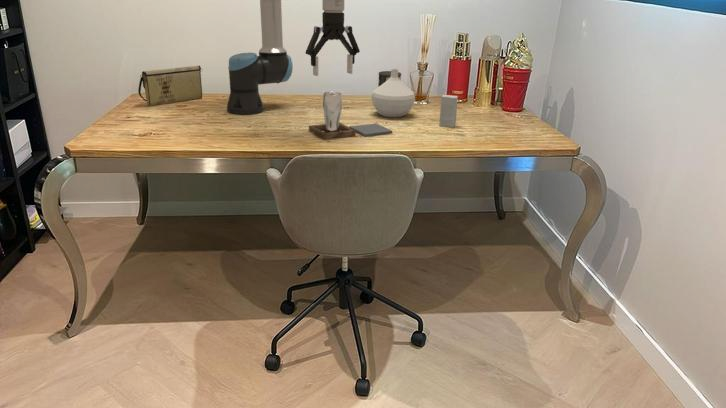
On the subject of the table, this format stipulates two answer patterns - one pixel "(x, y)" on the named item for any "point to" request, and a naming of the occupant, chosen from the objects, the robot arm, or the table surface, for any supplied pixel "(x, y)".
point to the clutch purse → (171, 85)
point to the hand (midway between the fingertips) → (332, 74)
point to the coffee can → (385, 77)
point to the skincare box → (448, 111)
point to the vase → (393, 97)
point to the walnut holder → (332, 135)
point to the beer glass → (332, 111)
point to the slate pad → (370, 130)
